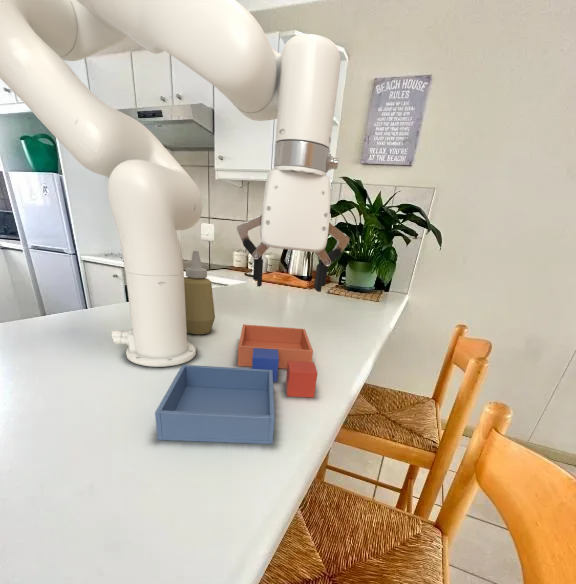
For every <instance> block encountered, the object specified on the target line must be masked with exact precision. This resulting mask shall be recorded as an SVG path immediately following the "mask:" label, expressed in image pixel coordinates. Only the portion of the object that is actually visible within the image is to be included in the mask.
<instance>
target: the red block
mask: <svg viewBox="0 0 576 584" xmlns="http://www.w3.org/2000/svg"><path fill="white" fill-rule="evenodd" d="M285 374H286V375H285V391H286V392H285V393H286V397H290V398H291V397H292V398H293V397H295V398H311V399H312V398H315V393H316V387H317V380H318V370H317V367H316V365H315V362H314V361H312V362H301V361H288V364H287V369H286V373H285Z"/></svg>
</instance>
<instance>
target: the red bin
mask: <svg viewBox="0 0 576 584" xmlns="http://www.w3.org/2000/svg"><path fill="white" fill-rule="evenodd" d="M240 331H241V333H240V337H239V341H238V346H237V366H238V367H251V368H252V360H253V348H261V349H276V350H278V355H279V364H278V369H284V370H287V364H288V361H301V362H313V354H314V350H313V347H312V345H311V341H310V339H309V336H308V334H307V331H306V329H305V328H298V327H297V328H296V327H284V326H283V327H282V326H270V325H256V324H242V327H241V330H240Z"/></svg>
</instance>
